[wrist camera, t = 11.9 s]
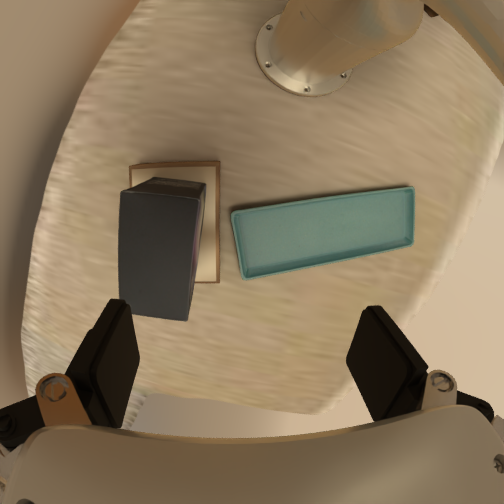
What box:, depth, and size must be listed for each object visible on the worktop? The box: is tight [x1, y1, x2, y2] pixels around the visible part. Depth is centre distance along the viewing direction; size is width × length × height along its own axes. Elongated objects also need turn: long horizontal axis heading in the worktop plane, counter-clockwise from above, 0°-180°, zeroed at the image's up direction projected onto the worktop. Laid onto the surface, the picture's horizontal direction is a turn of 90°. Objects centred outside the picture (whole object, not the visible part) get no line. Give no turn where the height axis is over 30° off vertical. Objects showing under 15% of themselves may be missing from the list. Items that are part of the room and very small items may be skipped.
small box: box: [118, 177, 206, 322], centre depth 25 cm, size 11×6×10 cm, turn 170°
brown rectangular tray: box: [129, 161, 220, 283], centre depth 32 cm, size 14×10×4 cm
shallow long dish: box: [230, 186, 415, 280], centre depth 36 cm, size 26×9×2 cm, turn 98°
